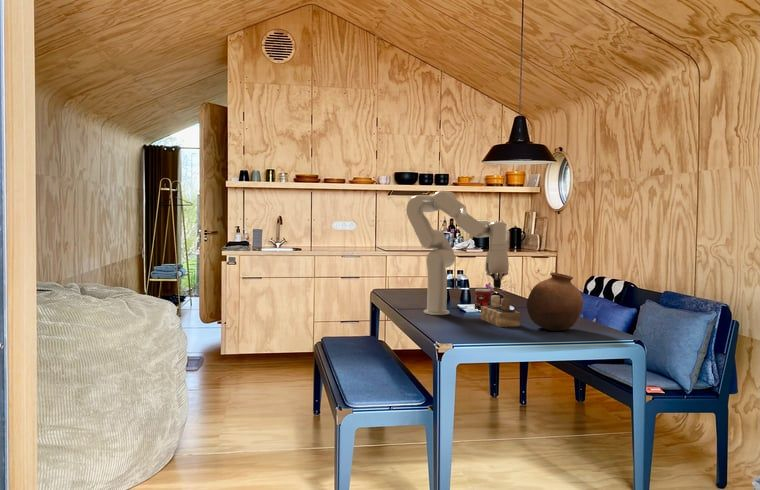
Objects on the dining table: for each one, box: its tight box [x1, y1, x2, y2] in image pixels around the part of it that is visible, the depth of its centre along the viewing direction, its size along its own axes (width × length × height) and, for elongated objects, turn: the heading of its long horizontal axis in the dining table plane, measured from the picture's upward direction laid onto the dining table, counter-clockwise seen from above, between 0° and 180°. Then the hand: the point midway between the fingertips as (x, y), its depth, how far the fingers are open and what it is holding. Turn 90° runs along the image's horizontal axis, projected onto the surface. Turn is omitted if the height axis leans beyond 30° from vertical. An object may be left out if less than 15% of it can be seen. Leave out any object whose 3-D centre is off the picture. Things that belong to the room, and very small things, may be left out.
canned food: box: [474, 288, 492, 310], centre depth 312 cm, size 8×8×11 cm
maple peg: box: [491, 294, 501, 308], centre depth 286 cm, size 4×4×7 cm
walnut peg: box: [500, 297, 511, 311], centre depth 277 cm, size 4×4×7 cm
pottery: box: [526, 271, 584, 332], centre depth 266 cm, size 23×23×25 cm
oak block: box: [480, 305, 521, 328], centre depth 281 cm, size 19×10×7 cm, turn 17°
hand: (497, 287), depth 285 cm, fingers closed
